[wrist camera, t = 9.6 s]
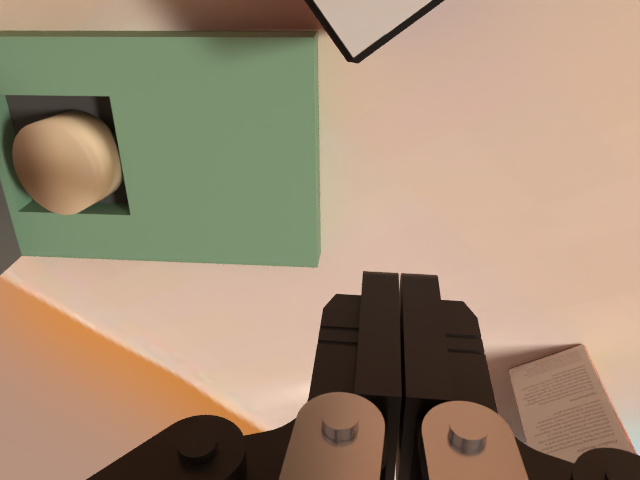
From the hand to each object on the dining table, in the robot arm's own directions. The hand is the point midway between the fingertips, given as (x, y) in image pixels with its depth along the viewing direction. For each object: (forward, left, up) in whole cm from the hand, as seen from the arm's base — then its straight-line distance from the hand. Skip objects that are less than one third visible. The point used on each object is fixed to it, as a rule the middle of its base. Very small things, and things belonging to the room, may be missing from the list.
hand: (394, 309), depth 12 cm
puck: (+5, -19, -24) cm, 30 cm away
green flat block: (+5, -15, -24) cm, 29 cm away
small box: (+23, +13, -25) cm, 36 cm away
